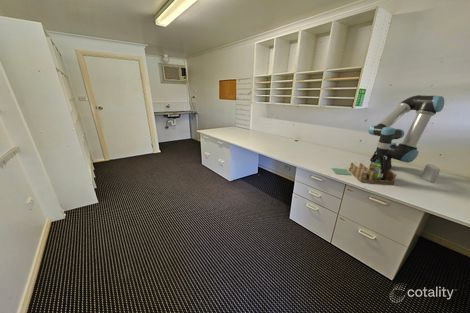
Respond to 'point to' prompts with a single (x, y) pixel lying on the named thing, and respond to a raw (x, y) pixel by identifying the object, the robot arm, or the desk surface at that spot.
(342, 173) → the cutting mat
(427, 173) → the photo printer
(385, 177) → the rack
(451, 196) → the desk surface
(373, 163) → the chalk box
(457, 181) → the desk surface
